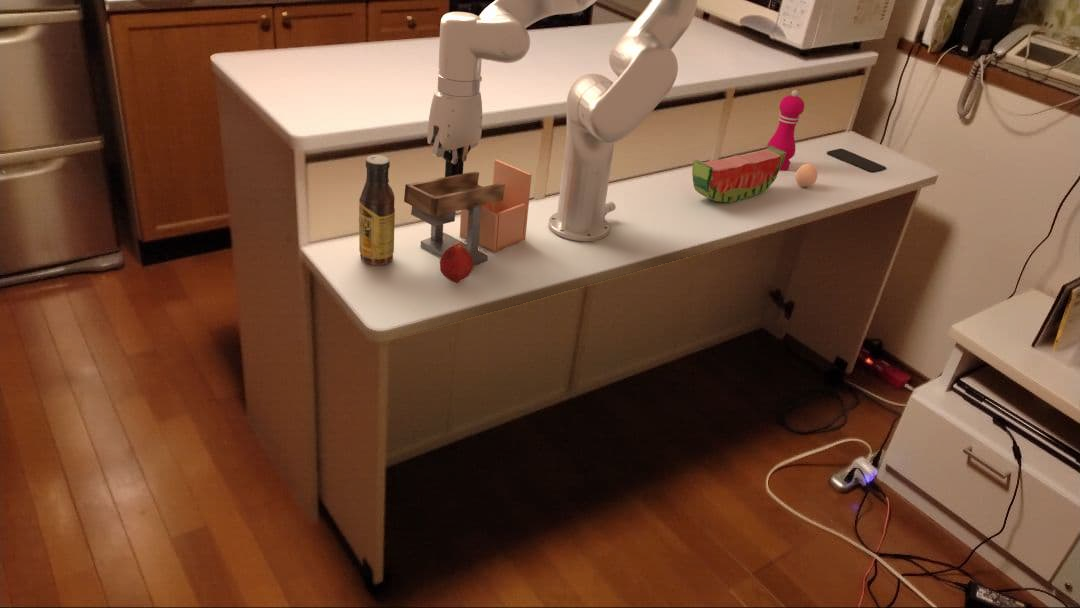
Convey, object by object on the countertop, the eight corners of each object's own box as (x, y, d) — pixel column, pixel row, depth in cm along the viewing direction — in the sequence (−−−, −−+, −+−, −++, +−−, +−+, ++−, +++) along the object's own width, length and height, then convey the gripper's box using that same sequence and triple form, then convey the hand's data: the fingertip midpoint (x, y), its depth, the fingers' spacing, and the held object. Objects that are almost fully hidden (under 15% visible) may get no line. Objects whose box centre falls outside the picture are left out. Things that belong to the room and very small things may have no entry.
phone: (872, 171, 218) (825, 151, 228) (871, 174, 219) (824, 154, 229) (888, 167, 222) (841, 147, 232) (887, 170, 223) (840, 150, 233)
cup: (492, 223, 171) (496, 159, 164) (525, 239, 166) (531, 174, 159) (459, 236, 165) (463, 169, 158) (493, 253, 160) (498, 185, 153)
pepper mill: (795, 171, 214) (816, 94, 204) (770, 171, 212) (790, 94, 202) (781, 160, 220) (801, 85, 210) (757, 160, 218) (776, 85, 208)
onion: (449, 293, 146) (451, 252, 142) (433, 278, 149) (434, 238, 145) (477, 285, 149) (480, 246, 145) (461, 271, 153) (463, 232, 149)
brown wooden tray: (458, 191, 164) (461, 164, 161) (501, 212, 158) (505, 184, 155) (388, 206, 151) (390, 177, 149) (432, 229, 145) (435, 199, 142)
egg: (809, 182, 208) (815, 160, 205) (817, 191, 204) (823, 168, 201) (789, 181, 208) (795, 159, 205) (797, 190, 203) (803, 167, 200)
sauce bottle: (355, 253, 155) (354, 152, 145) (389, 249, 157) (389, 149, 147) (364, 270, 150) (363, 166, 140) (398, 266, 152) (399, 163, 142)
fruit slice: (759, 183, 205) (768, 144, 200) (778, 192, 201) (789, 153, 196) (683, 201, 191) (691, 159, 186) (702, 211, 187) (711, 169, 181)
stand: (443, 237, 163) (445, 182, 157) (487, 260, 157) (491, 203, 151) (420, 246, 159) (422, 189, 153) (464, 270, 153) (467, 212, 147)
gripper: (473, 74, 157) (467, 165, 166) (413, 86, 147) (410, 183, 156) (502, 84, 153) (494, 178, 162) (442, 97, 143) (438, 196, 152)
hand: (453, 180), depth 159 cm, fingers closed
